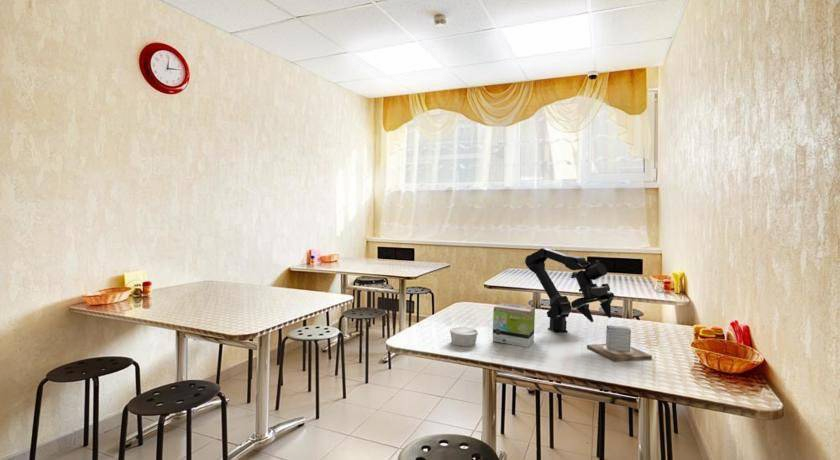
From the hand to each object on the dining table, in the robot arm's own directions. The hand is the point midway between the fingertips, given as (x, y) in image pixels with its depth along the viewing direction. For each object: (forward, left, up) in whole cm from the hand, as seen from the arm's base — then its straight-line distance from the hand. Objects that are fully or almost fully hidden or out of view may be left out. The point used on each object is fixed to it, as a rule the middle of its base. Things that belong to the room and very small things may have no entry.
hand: (601, 319), depth 174 cm
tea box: (-35, +9, -10) cm, 37 cm away
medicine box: (-1, -12, -9) cm, 15 cm away
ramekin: (-56, +11, -10) cm, 58 cm away
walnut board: (-1, -12, -10) cm, 15 cm away
